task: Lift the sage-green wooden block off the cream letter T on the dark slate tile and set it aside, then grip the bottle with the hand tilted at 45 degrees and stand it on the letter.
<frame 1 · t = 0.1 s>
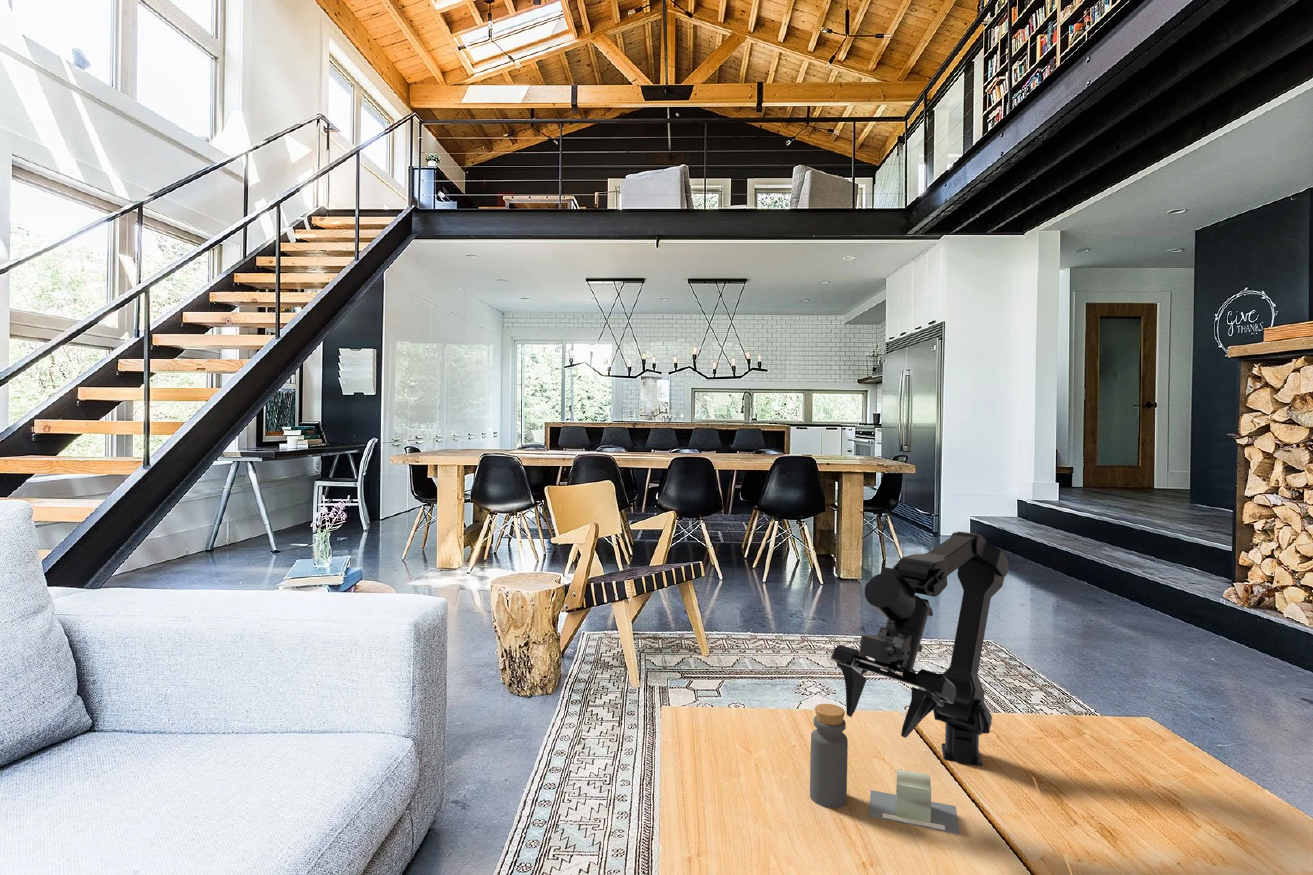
hand: (875, 726, 103), 15 cm above the table, tool tilted 30°, fingers open, 9 cm apart
letter tile: (912, 813, 106), on the table
green block: (912, 810, 106), resting on letter tile
bottle: (827, 801, 109), on the table
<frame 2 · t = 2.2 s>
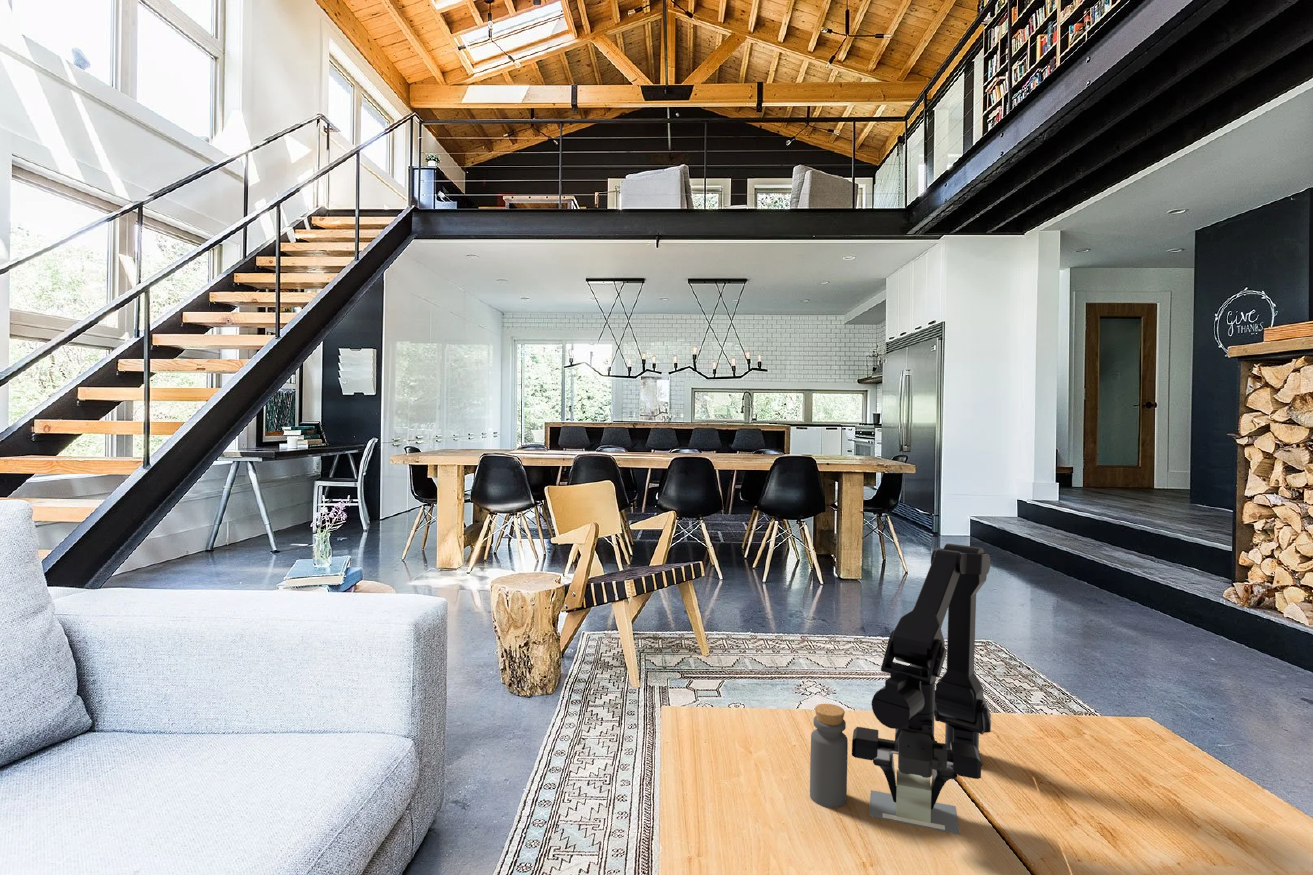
hand: (912, 804, 106), 1 cm above the table, tool pointing down, fingers closed on green block, 5 cm apart
green block: (912, 810, 106), resting on letter tile, touching gripper
everything else where it was.
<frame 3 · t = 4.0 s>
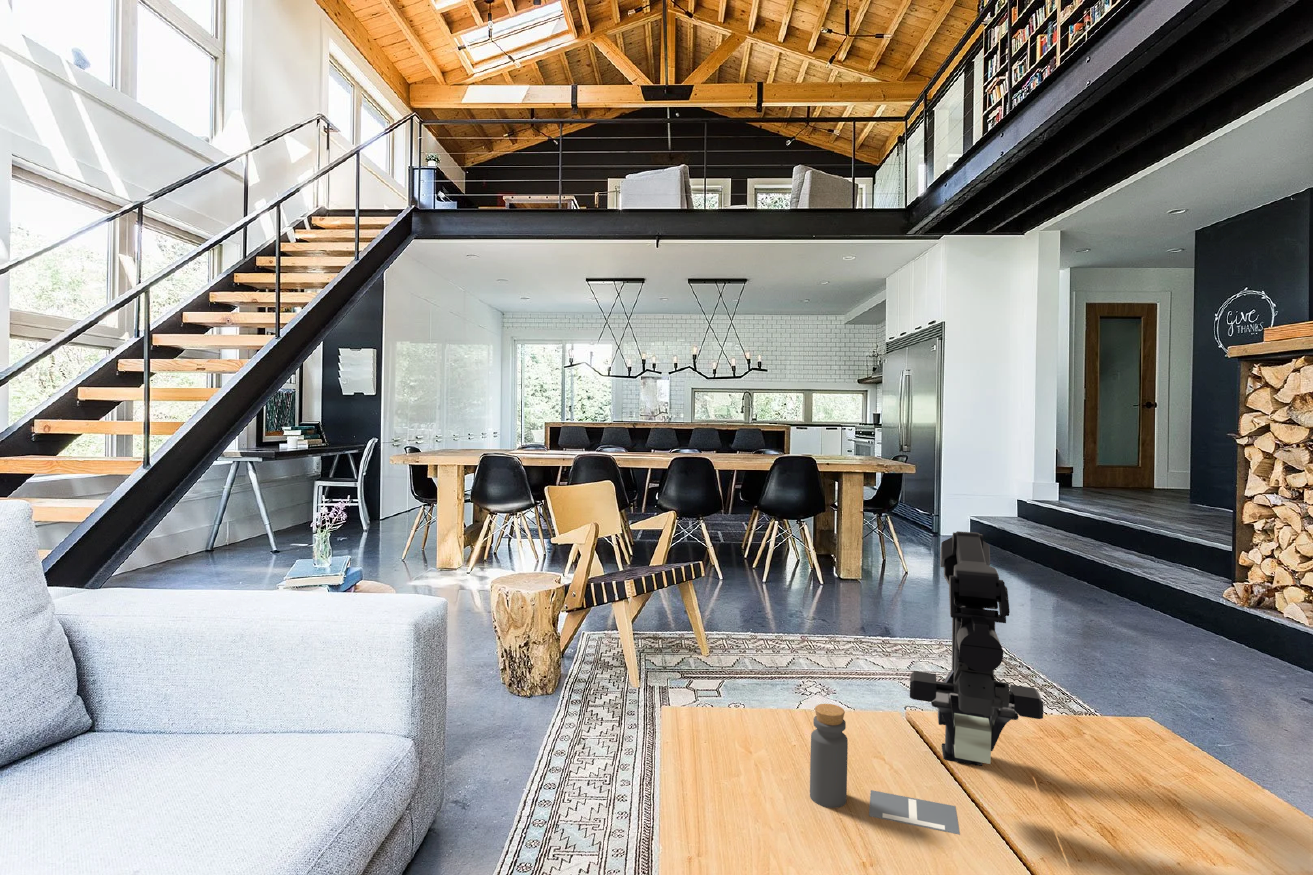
hand: (971, 746, 106), 11 cm above the table, tool pointing down, fingers closed on green block, 5 cm apart
green block: (971, 753, 106), point 10 cm above the table, touching gripper
everything else where it was.
when the fingers open (2 cm above the table, at t = 5.7 s): green block drops 2 cm, on the table.
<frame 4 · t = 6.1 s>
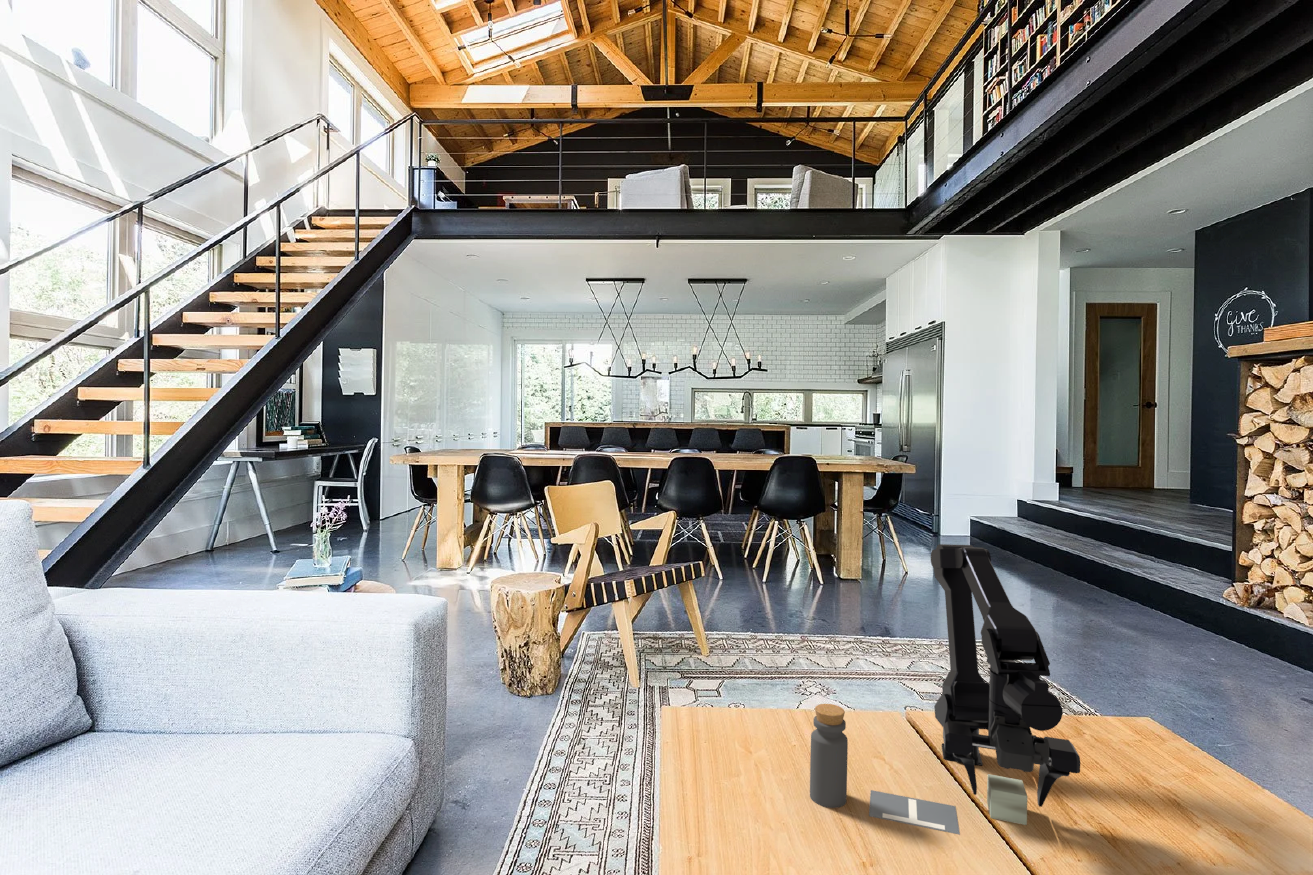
hand: (1006, 799, 106), 2 cm above the table, tool pointing down, fingers open, 9 cm apart
green block: (1006, 815, 106), on the table
everything else where it was.
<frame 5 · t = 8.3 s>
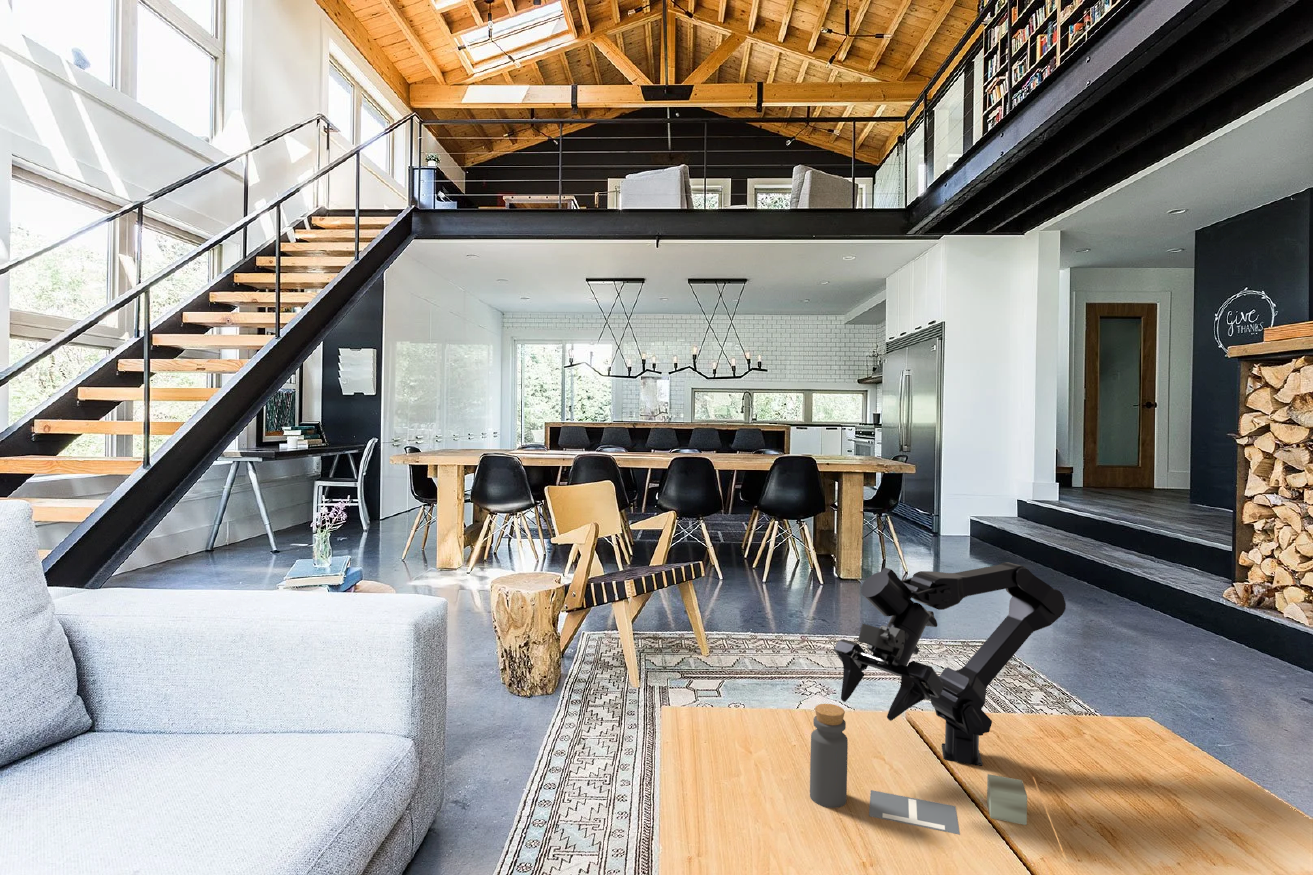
hand: (865, 709, 113), 13 cm above the table, tool tilted 45°, fingers open, 9 cm apart
nothing on the table moved.
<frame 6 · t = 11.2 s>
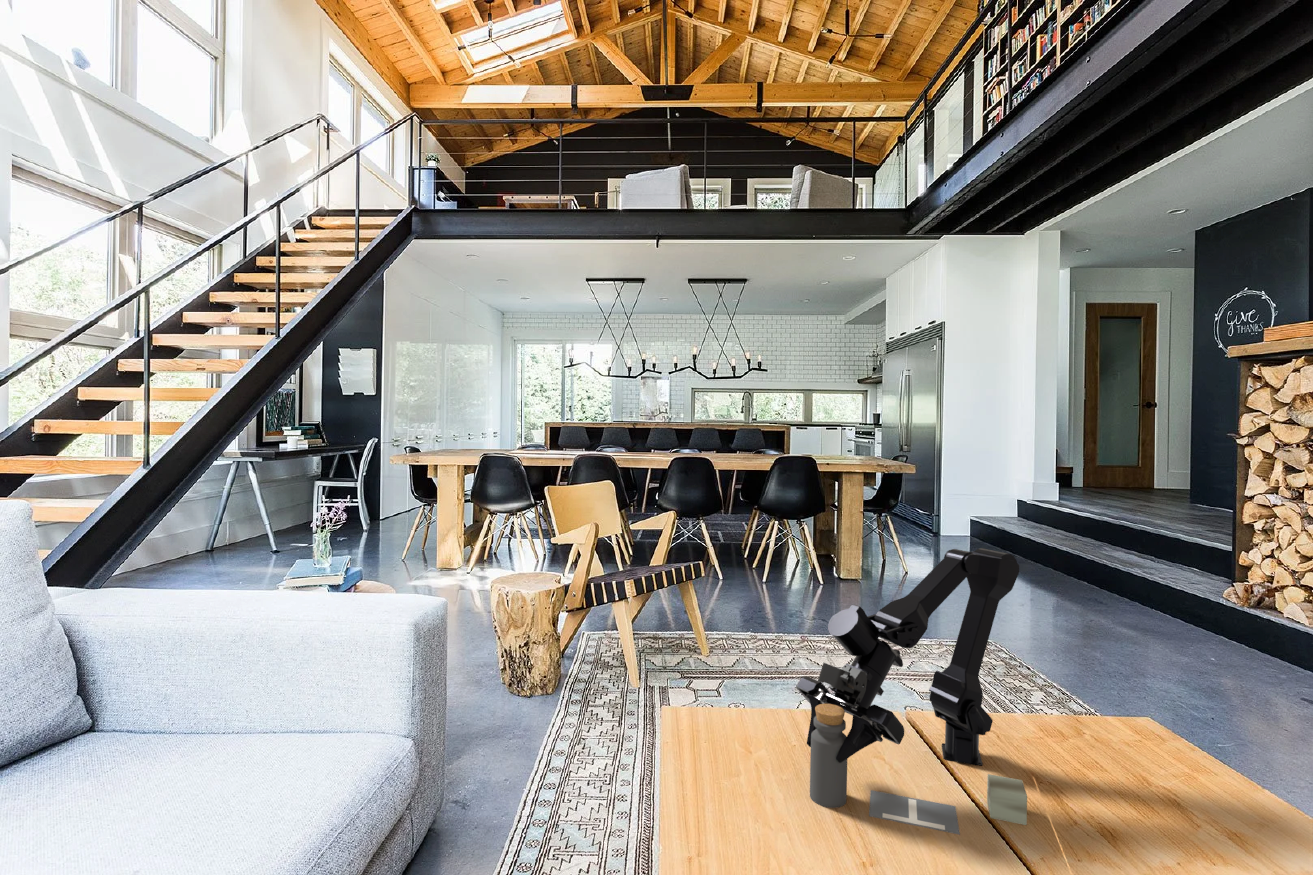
hand: (823, 753, 108), 8 cm above the table, tool tilted 45°, fingers closed on bottle, 6 cm apart
bottle: (827, 801, 109), on the table, touching gripper
everything else where it was.
when the fingers open (10 cm above the table, at t = 14.4 s): bottle drops 1 cm, resting on letter tile.
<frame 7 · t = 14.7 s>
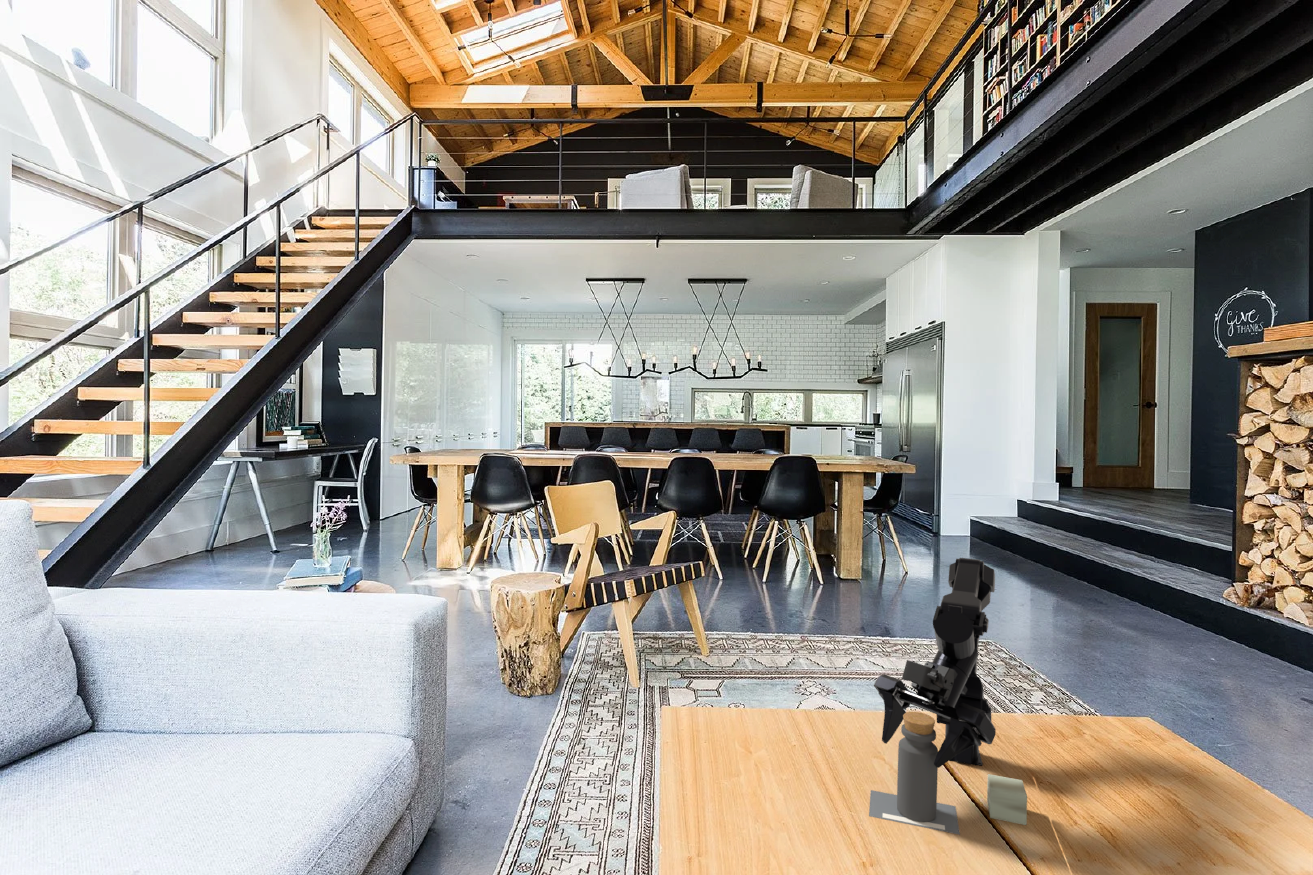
hand: (908, 753, 105), 10 cm above the table, tool tilted 45°, fingers open, 9 cm apart
bottle: (916, 812, 105), resting on letter tile
everything else where it was.
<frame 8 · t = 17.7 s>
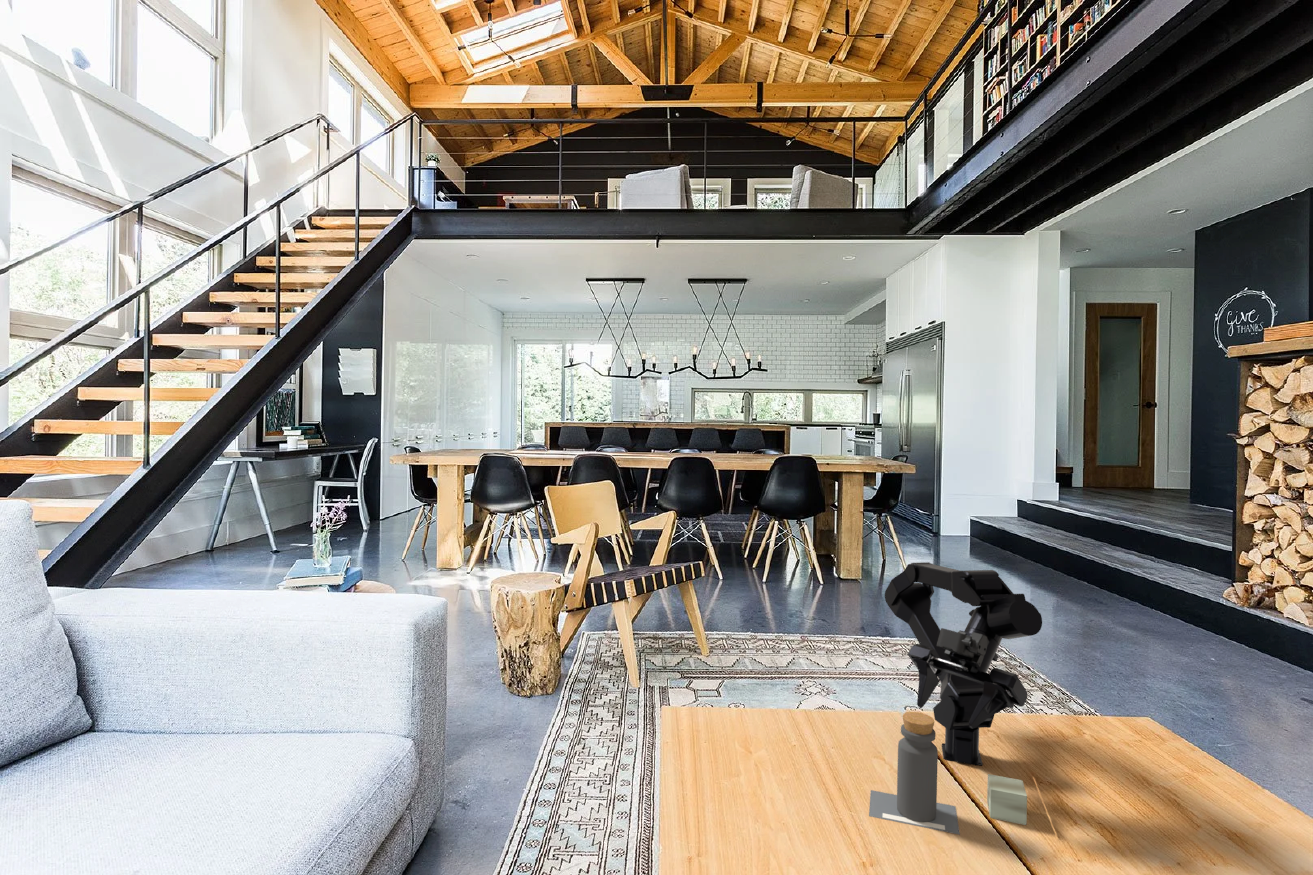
hand: (944, 716, 110), 14 cm above the table, tool tilted 45°, fingers open, 9 cm apart
nothing on the table moved.
at the end: bottle 0.5 cm off-centre on the letter tile, point 0.2 cm above the letter tile's base; bottle tilted 0°; green block touching table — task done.
